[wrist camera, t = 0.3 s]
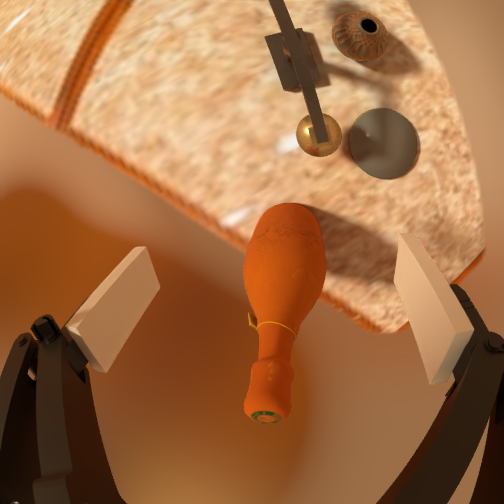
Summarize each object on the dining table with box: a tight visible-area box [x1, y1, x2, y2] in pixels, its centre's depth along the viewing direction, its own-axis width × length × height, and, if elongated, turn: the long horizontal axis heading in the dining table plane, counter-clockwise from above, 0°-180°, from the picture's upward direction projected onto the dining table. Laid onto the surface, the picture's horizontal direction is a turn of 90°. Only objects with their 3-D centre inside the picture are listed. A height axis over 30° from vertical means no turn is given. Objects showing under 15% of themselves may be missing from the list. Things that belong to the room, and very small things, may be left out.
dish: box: [349, 108, 417, 179], centre depth 33 cm, size 10×10×1 cm
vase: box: [332, 11, 388, 61], centre depth 23 cm, size 7×7×9 cm
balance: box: [265, 0, 342, 157], centre depth 23 cm, size 26×5×15 cm, turn 18°
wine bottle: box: [243, 203, 326, 424], centre depth 29 cm, size 10×10×30 cm
